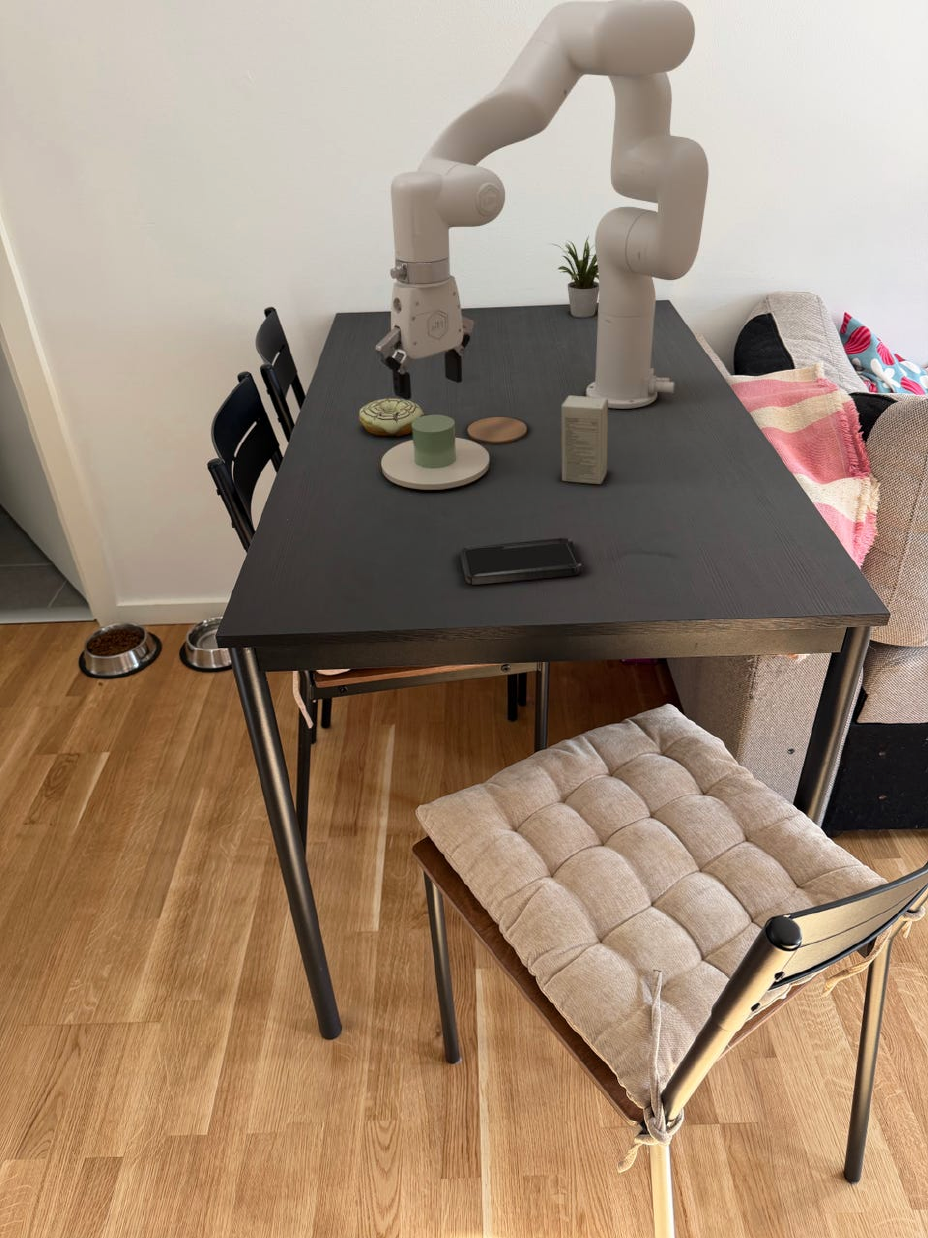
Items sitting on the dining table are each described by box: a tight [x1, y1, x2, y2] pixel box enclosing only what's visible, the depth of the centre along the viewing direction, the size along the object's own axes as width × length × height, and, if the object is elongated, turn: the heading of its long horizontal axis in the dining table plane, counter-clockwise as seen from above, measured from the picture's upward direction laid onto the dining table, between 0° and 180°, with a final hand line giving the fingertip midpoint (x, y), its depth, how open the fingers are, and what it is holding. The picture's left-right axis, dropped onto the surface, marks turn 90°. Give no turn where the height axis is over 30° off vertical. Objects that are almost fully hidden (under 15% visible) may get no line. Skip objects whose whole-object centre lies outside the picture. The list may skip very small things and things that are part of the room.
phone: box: [460, 537, 582, 586], centre depth 124 cm, size 8×1×15 cm
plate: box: [380, 437, 491, 491], centre depth 149 cm, size 17×17×2 cm
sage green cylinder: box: [411, 414, 456, 468], centre depth 147 cm, size 7×7×6 cm
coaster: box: [467, 416, 528, 444], centre depth 160 cm, size 10×10×1 cm
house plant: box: [547, 235, 599, 318], centre depth 205 cm, size 14×14×16 cm
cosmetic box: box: [560, 394, 609, 485], centre depth 141 cm, size 6×4×12 cm
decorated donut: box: [359, 397, 425, 437], centre depth 162 cm, size 10×11×4 cm
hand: (428, 388), depth 141 cm, fingers open, 9 cm apart
